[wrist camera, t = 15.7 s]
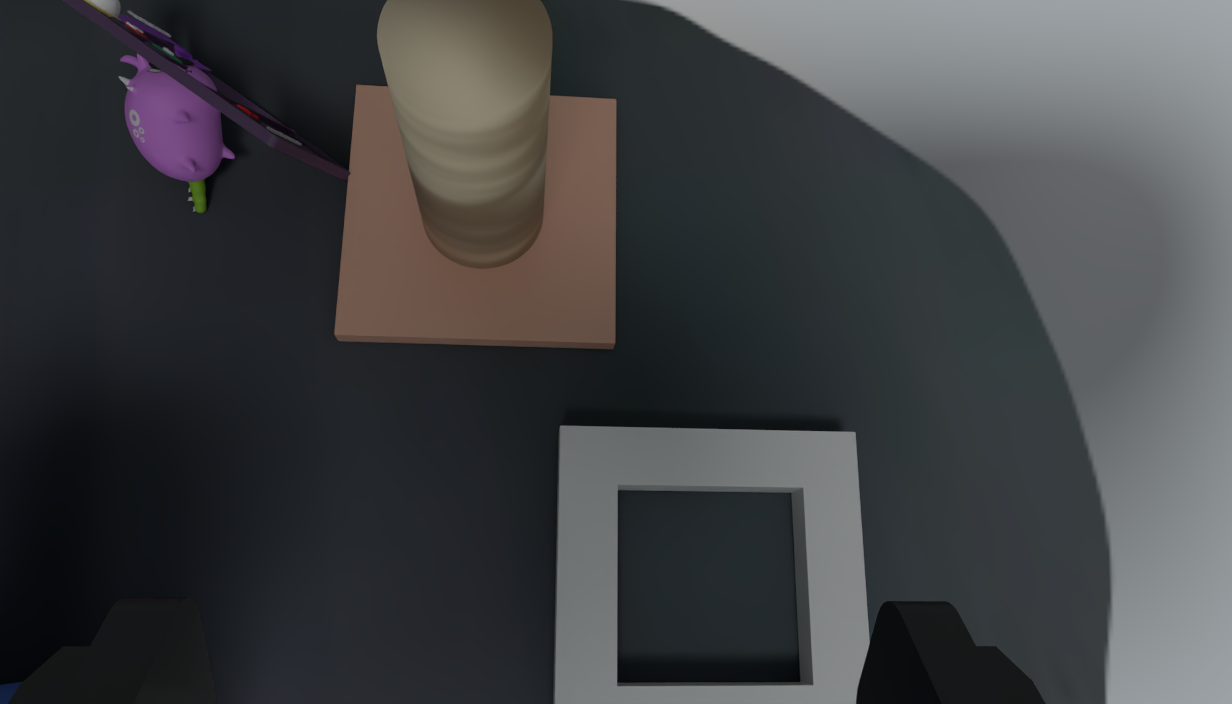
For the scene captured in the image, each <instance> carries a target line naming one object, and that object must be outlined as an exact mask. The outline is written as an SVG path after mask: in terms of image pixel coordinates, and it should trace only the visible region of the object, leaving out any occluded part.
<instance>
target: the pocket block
mask: <svg viewBox="0 0 1232 704" xmlns="http://www.w3.org/2000/svg"><path fill="white" fill-rule="evenodd" d="M618 490H648V491H713V492H778V493H791V496H792V517H793V538H794V559H795V580H796V601H797V622H798V643H799V664H800V682H665V683H617V541H618ZM869 644H870V642H869V627H868V613H867V598H866V583H865V568H864V553H863V538H862V524H861V509H860V494H859V479H858V464H857V450H856V435H855V432H830V431H784V430H739V429H693V428H647V427H601V426H560V429H559V437H558V486H557V536H556V586H555V635H554V685H553V704H856V696H857V689H858V684H859V680H860V677H861V673H862V670H863V666H864V662H865V659H866V655H867V652H868V648H869Z"/></svg>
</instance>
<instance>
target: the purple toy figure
mask: <svg viewBox="0 0 1232 704" xmlns="http://www.w3.org/2000/svg"><path fill="white" fill-rule="evenodd" d="M62 1H64V2H65V3H67V4H68V5H70V6H71V7H72V8H74V9H75V10H77V11H78V12H79V13H81V14H82V15H84V16H85V17H87V18H88V19H89V20H91V21H92V22H94V23H95V24H97V25H98V26H99V27H101V28H102V29H104V30H105V31H106V32H108V33H109V34H111V35H112V36H114V37H115V38H116V39H118V40H119V41H121V42H122V43H123V44H125V45H126V46H128V47H129V48H131V49H132V50H133V51H135V52H136V53H137V58H136V57H133V56H130V55H125V56H123V57H122V58H121V59H120V61H121V62H126V63H129V64H132V65H134V66H136V67H137V68H138V72H137V74H136V76H135V77H134V78H133V79H130V80H129V79H126V78H124V77H121V76H118V77H119V78H120V80H121V81H122V82H123V83H124V84H125V85H126V86H127V88H128V91H127V94H126V99H125V119H126V123H127V127H128V130H129V132H130V135H131V137H132V139H133V141H134V143H135V144H136V146H137V148H138V149H139V151H140V152H141V154H142V155H143V156H144V157H145V159H146V160H147V161H148V162H149V163H150V164H151V165H152V166H153V167H154V168H156V169H157V170H158V171H160V172H161V173H163V174H165V175H167V176H169V177H171V178H174V179H178V180H182V181H187V182H188V183H189V184H190V188H189V191H188V192H192V194H193V196H192V197H188V198H189V200H188V201H193V202H194V204H195V206H194V207H193V209H194V210H193V212H194V211H197V212H198V213H203V212H205V211H206V209H207V206H206V201H207V200H206V195H205V191H206V186H205V178H207V177H209V176H210V175H212V174H213V173H214V172H215V171H216V169H217V168H218V166H219V164H220V162H221V159H222V158H229V159H234V158H235V155H234V153H233V152H232V151H231V150H230V149H228V148H227V147H226V146H225V145H224V143H223V138H222V127H221V113H223V114H224V115H226V116H227V117H228V118H230V119H231V120H233V121H234V122H235V123H237V124H238V125H240V126H241V127H243V128H244V129H245V130H247V131H248V132H250V133H251V134H252V135H254V136H255V137H257V138H258V139H260V140H261V141H262V142H264V143H265V144H267V145H268V146H270V147H271V148H273V149H275V150H277V151H279V152H282V153H284V154H286V155H288V156H290V157H293V158H295V159H297V160H299V161H302V162H304V163H306V164H308V165H310V166H313V167H315V168H317V169H319V170H321V171H324V172H326V173H328V174H330V175H333V176H335V177H337V178H339V179H341V180H344V181H346V182H348V176H349V175H350V174H351V173H350V172H349V170H348V169H347V168H346V167H344V166H343V165H341V164H340V163H338V162H337V161H336V160H334V159H333V158H331V157H330V156H328V155H327V154H326V153H324V152H323V151H321V150H320V149H319V148H317V147H316V146H314V145H313V144H311V143H310V142H309V141H307V140H306V139H304V138H303V137H301V136H300V135H299V134H297V133H296V132H295V131H294V130H292V129H290V128H289V127H287V126H286V125H284V124H283V123H281V122H280V121H279V120H277V119H276V118H274V117H273V116H271V115H270V114H269V113H267V112H266V111H264V110H263V109H262V108H260V107H259V106H257V105H256V104H254V103H253V102H252V101H250V100H249V99H247V98H246V97H244V96H243V95H242V94H240V93H239V92H237V91H236V90H234V89H233V88H232V87H230V86H229V85H227V84H226V83H224V82H223V81H222V80H220V79H219V78H217V77H216V76H214V75H213V74H212V73H210V72H209V71H212V70H210V69H209V68H207V67H205V66H204V65H202V64H201V63H199V61H198V60H194V59H192V58H193V57H192V55H191V54H190V53H189V52H188V51H186V50H185V49H183V48H182V47H181V46H179V45H178V44H176V43H175V42H173V41H172V40H171V39H169V38H168V37H170V38H171V35H170V34H168V33H167V32H165V31H163V30H161V29H160V28H158V27H156V26H155V25H153V24H151V23H149V22H148V21H146V20H144V19H142V18H141V17H139V16H137V15H135V14H134V13H133V12H131V11H129V10H128V11H127V12H128V13H129V14H131V15H132V16H134V17H135V18H137V19H139V20H140V21H142V22H144V23H146V24H147V25H149V26H151V27H152V28H154V29H156V30H158V31H159V32H158V31H156V30H154V29H152V28H150V27H148V26H146V25H144V24H142V23H139V22H137V21H135V20H133V19H131V18H129V17H127V16H125V15H122V14H120V2H119V0H62ZM147 32H148V33H147ZM160 32H161V33H163V34H164V35H163V34H161V33H160ZM149 33H151V34H153V35H155V36H157V37H159V38H161V39H163V40H165V41H168V42H170V43H172V44H174V46H175V48H174V47H173V46H171V45H169V44H167V43H165V42H164V41H162V40H160V39H158V38H156V37H155V36H153V35H151V34H149ZM165 35H166V36H168V37H166V36H165ZM147 60H148V61H149V62H148V61H147ZM217 90H218V91H219V92H221V93H222V94H221V93H219V92H217ZM223 94H224V95H223Z"/></svg>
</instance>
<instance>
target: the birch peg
mask: <svg viewBox="0 0 1232 704" xmlns="http://www.w3.org/2000/svg"><path fill="white" fill-rule="evenodd" d="M377 41H378V48H379V52H380V56H381V60H382V64H383V68H384V72H385V76H386V80H387V84H388V88H389V92H390V95H391V99H392V103H393V107H394V111H395V115H396V119H397V123H398V127H399V131H400V135H401V139H402V143H403V147H404V151H405V155H406V159H407V162H408V166H409V170H410V174H411V178H412V182H413V186H414V190H415V194H416V198H417V202H418V206H419V210H420V214H421V218H422V222H423V226H424V229H425V232H426V234H427V236H428V238H429V240H430V242H431V243H432V244H433V246H434V247H435V248H436V249H437V250H438V251H439V252H440V253H441V254H442V255H444V256H445V257H446V258H448V259H449V260H451V261H453V262H455V263H457V264H460V265H462V266H466V267H470V268H477V269H488V268H495V267H500V266H503V265H506V264H509V263H511V262H513V261H515V260H517V259H518V258H519V257H521V256H522V255H523V254H525V253H526V252H527V251H528V250H529V249H530V248H531V246H532V245H533V244H534V242H535V241H536V239H537V237H538V235H539V233H540V231H541V227H542V223H543V214H544V195H545V176H546V157H547V138H548V118H549V99H550V80H551V61H552V27H551V22H550V19H549V16H548V13H547V11H546V9H545V7H544V5H543V3H542V2H541V0H387V2H386V3H385V5H384V7H383V9H382V12H381V15H380V18H379V22H378V29H377Z"/></svg>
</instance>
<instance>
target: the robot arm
mask: <svg viewBox="0 0 1232 704" xmlns="http://www.w3.org/2000/svg"><path fill="white" fill-rule="evenodd" d="M8 704H216V689H215V684H214V679H213V674H212V669H211V664H210V659H209V654H208V649H207V645H206V640H205V635H204V630H203V625H202V620H201V615H200V611H199V607H198V604H197V602H196V601H195V600H194V599H193V598H133V597H124V598H121V599H119V600H118V601H117V602H116V603H115V604H114V605H113V606H112V608H111V610H110V611H109V613H108V615H107V616H106V618H105V620H104V622H103V624H102V625H101V627H100V629H99V631H98V632H97V634H96V636H95V638H94V640H93V641H92V643H91V645H90V646H63V647H62V648H61V649H60V650H58V651H57V652H56V653H55V654H54V655H53V656H52V657H50V658H49V659H48V660H47V661H46V662H45V663H44V664H42V665H41V666H40V667H39V668H38V669H37V670H36V671H34V672H33V673H32V674H31V675H30V676H29V677H28V678H26V679H25V680H24V681H23V682H22V683H21V684H20V685H19V686H18V688H17V690H16V691H15V693H14V694H13V696H12V698H11V699H10V701H9V702H8ZM856 704H1045V702H1044V700H1043V699H1042V697H1041V695H1040V693H1039V692H1038V690H1037V688H1036V686H1035V685H1034V683H1033V681H1032V680H1031V679H1030V678H1029V677H1028V676H1026V675H1025V674H1024V673H1023V672H1022V671H1021V670H1020V669H1019V668H1018V667H1017V666H1016V665H1015V664H1014V663H1013V662H1012V661H1011V660H1010V659H1009V658H1007V657H1006V656H1005V655H1004V654H1003V653H1002V652H1001V651H1000V650H999V649H998V648H997V647H996V646H976V645H975V643H974V642H973V640H972V638H971V636H970V634H969V632H968V630H967V628H966V627H965V625H964V623H963V621H962V619H961V617H960V615H959V613H958V612H957V610H956V609H955V608H954V606H953V605H951V604H950V603H949V602H946V601H887V602H885V603H883V605H882V606H881V608H880V610H879V612H878V616H877V619H876V623H875V626H874V630H873V634H872V637H871V641H870V644H869V648H868V652H867V655H866V659H865V662H864V666H863V670H862V673H861V677H860V680H859V684H858V689H857V696H856Z"/></svg>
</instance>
